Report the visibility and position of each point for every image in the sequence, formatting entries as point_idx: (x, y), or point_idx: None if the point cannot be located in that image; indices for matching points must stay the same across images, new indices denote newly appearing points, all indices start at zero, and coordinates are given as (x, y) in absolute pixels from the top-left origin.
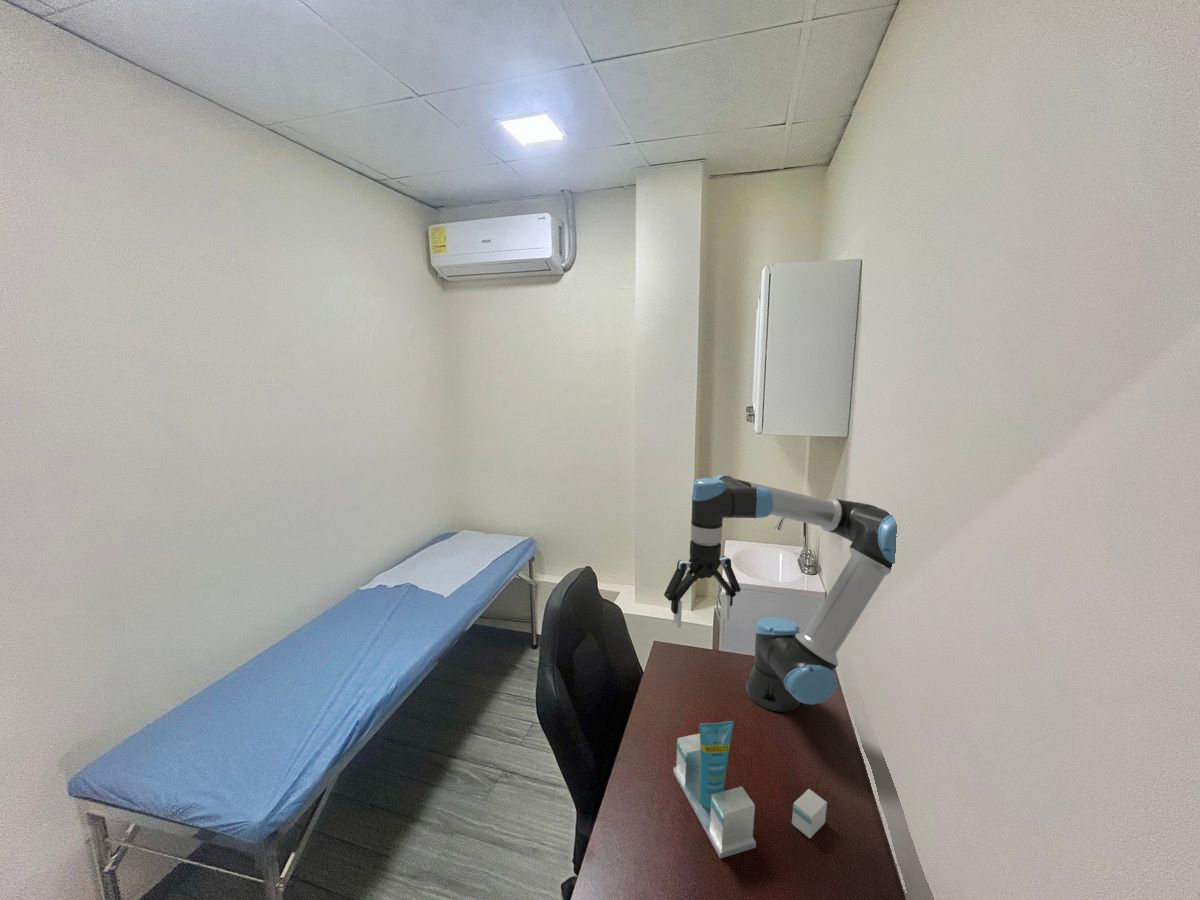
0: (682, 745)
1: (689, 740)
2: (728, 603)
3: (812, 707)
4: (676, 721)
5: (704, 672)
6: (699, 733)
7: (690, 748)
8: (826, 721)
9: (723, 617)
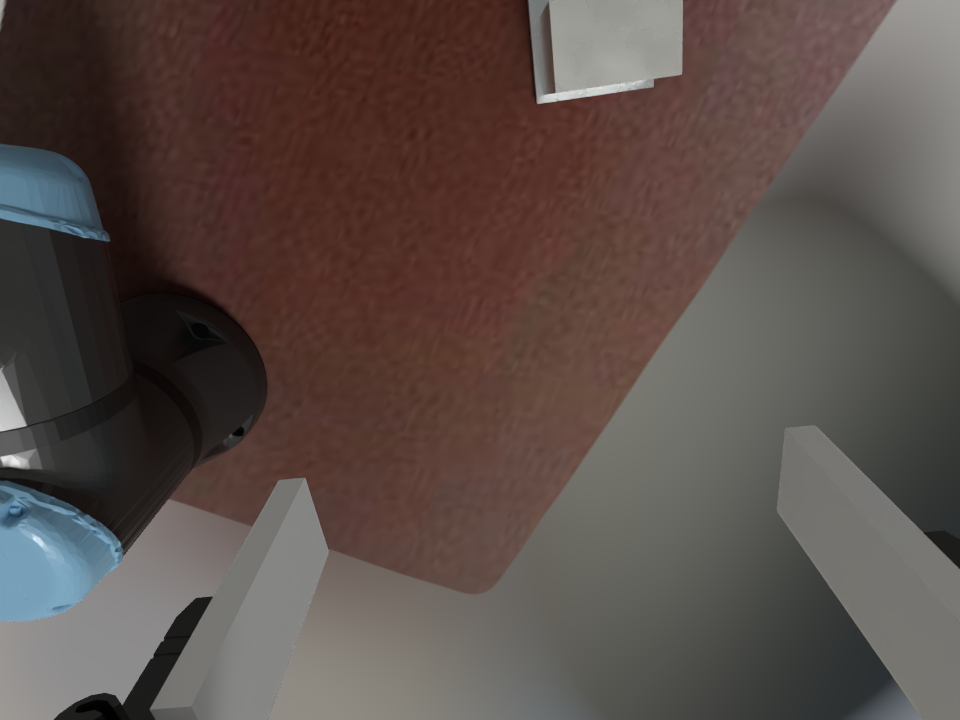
0: (680, 27)
1: (638, 52)
2: (223, 615)
3: None
4: (550, 302)
5: (376, 495)
6: (579, 88)
7: (655, 2)
8: None
9: (316, 520)
